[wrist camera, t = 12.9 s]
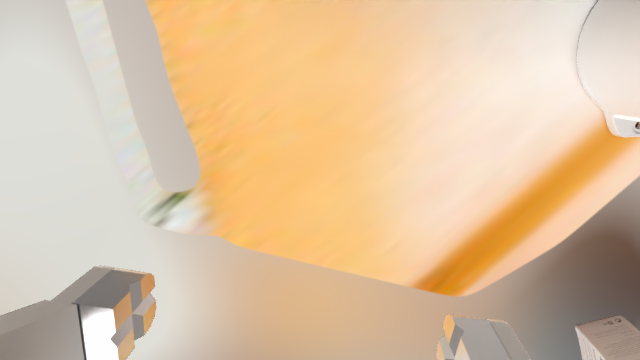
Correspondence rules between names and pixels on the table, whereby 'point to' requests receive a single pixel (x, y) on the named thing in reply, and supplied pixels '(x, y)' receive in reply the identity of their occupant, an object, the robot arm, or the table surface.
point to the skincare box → (609, 339)
